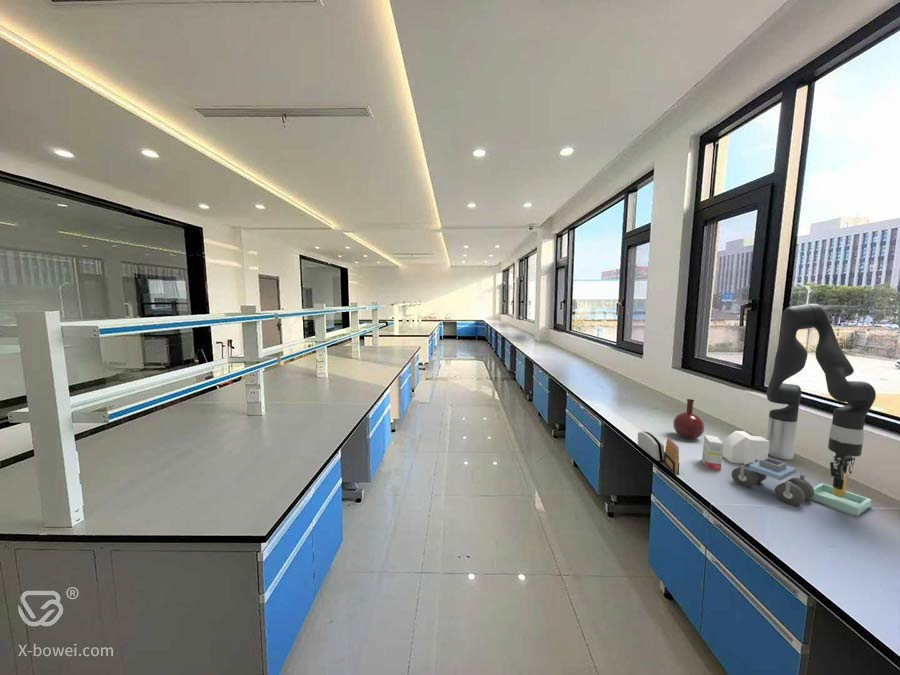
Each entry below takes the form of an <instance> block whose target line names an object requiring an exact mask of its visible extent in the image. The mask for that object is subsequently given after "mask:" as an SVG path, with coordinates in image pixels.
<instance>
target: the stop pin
mask: <svg viewBox="0 0 900 675" xmlns="http://www.w3.org/2000/svg"><path fill="white" fill-rule="evenodd" d="M842 470H844V469H842ZM837 474H838V473H837ZM847 475H848V473H845V479H844V484H843V489H841V490H840V489H837V488H834V487H833V495H835V496H837V497H841V498H845V491H847V486H846V483H847V484H848V479H847Z"/></svg>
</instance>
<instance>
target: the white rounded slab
mask: <svg viewBox="0 0 900 675" xmlns="http://www.w3.org/2000/svg"><path fill="white" fill-rule="evenodd" d="M637 446H638V447H639V448H640V449H642V450H643V451H644V452H645V453H647V454H648V455H649V456H650V457H652V458H653V459H654V460H656V461H657V462H658V461H661V460H662V461H664V452H665V445H664V443H663V442H662V441H661V439H660V438H659V437H658V436H657V435H656V434H654V433H653V432H650V431H639V432H637Z"/></svg>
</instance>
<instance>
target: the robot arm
mask: <svg viewBox="0 0 900 675" xmlns="http://www.w3.org/2000/svg"><path fill="white" fill-rule="evenodd" d="M780 324H781V325H780V336H779V340H778V345H777V350H776V353H775V358H774V364H773V370H772V374H771V378H770V379H769V380H770V381H769V383H768V386H767V388H766V389H767V390H766V399H767V400H768V401H769V402H771V403H773V404H778V405H779V404H781V405H787V406H785V407H782V408H776V409H775V408H774V409H770V411H769V413H768V422H767V434H766V440H768V441H769V451H768V454H769V455H768V456H770V455H771V457H772V458H773V457H774V458H776V459H781V460H793V459H794V455H795V454H794V452H795V444H796V436H797V427H798V426H797V424H798V417H799V408H800V404H801V398H802V388H801V386H800V385H797V384H793V383H785V381H786V380H787V379H789V378H792V377H793V376H795V375H797V374H798V373H800V372H801V371H802V370H803V369H804V368H805V365H806V362H807V359H808V350H807V349H806V348H805V347H804V345H803V343H801V341H799V340H798V338H797V332H798V331H800V330H806V329H813V328H814V329H815V330H816V331H817V333H818V342H817V345H816V349H815V359H816V362H817V363H818V364H819V367H820V368H821V369H822V371H823V373H824V376H825V383H826V388H827V392H828V394H829V395H830V397H832V398H833V399H834V400H835V401H837V402H841V403H846V404H845V405H844V406H839V407H837V408H834V410H833V414H832V421H831V427H830V428H829V436H828V437H829V438H828V445H827V448H828V450H829V451H831V452H833V453H835V455H833V456H832V461H830V462H829V465H830V466H829V468H830V476H831V477H833V483H832V486H833V487H834V488H837V489H840V490H841V489H843V484H844V479H845V473H848V475H847V480H848V477H850V475H851V474H852V472H853V471H852V470H853V468H854V464H855V461H856V457H861V456H862V452H863V451H862V450H863V444H864V437H865V436H864V427H865V420H866V419H865V418H866V416H867V414H868V413H869V411H870V410H871V407H872V406H873V404H874V402H875V401H876V400H875V399H876V396H877V394H876V392H877V391H876V389H875V388H874V386H873V385H871V384H870V383H869V382H866V381H860V380H859V381H856V380H855V381H853V380H852V381H851V380H847V377H849V376H852V375H853V374H854V371H855V370H854V367H853V366H852V364H851V362H850V361H849V359H848V358H847V356H846V355H845V352H844V351H843V350H842V347H841V345H840V344H839V341H838V339H837V337H836V334H835V331H834V329H833V325H832V323H831V321H830V319H829V316H828V313H827V312H826V311H825V309H824V308H823V306H821V305H820V304H818V303H807V304H801V305H794V306H788V307H786V308H785V309H783V311H782V314H781V322H780ZM842 469H844V470H842ZM837 473H838V474H837ZM847 484H848V482H847V483H846V487H847Z"/></svg>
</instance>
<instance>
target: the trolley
mask: <svg viewBox="0 0 900 675" xmlns="http://www.w3.org/2000/svg"><path fill="white" fill-rule="evenodd" d="M787 464H788V463H787V462H784V461H781V460H779V459H775V458H773V457H772V458H771V457H769V456H768V457H766V458H763V459H761V460H760V461H759V460H758V459H755V463H748V464H744V465H743V464H741V465H740V466H739V467H735V468H734V469H733V470H732V471H731V477H732V480H733V481H734V483H735V484H737V485H738V486H741V487H744V488H750V487H753V486H755V485H757V484H759V483H761V482H764V481H765V480H766V479H767V478H768V477H770V478H773V479H775V480H778V481H782V480H784V479H787V478H788V477H790V476H792V475H794V474H796V473H797V467H796V468H795V467H793V466H789V465H787ZM805 478H806V475H805V474H804V473H801V474H800V475H799V477H792V478H790V479H788V480H786V481H783V482H782V483H779V484H778V485H777V486H775V488H774V494H775V496H776V498H777V499H778V500H779V501H780V502H782V503H784V504H787V505H789V506H791V507H796V506H798V505H801V504H802V503H804V502H805V501H807V500H810V499H809V498H811V497H812V496H813V495H814V489H813V487H814V486H812V484H811V483H810V482H809V481H807V480H805Z"/></svg>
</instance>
